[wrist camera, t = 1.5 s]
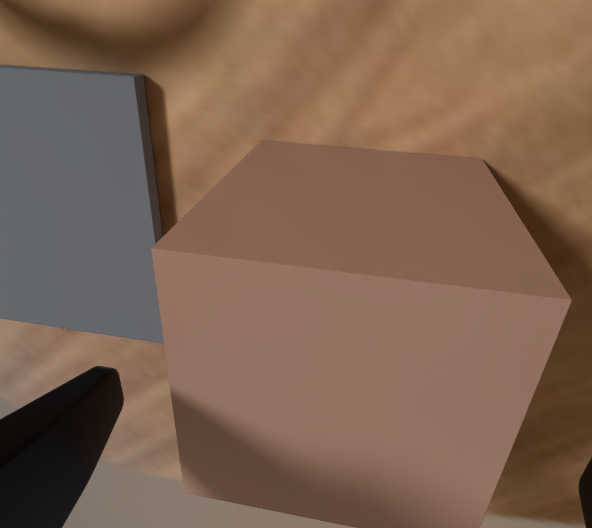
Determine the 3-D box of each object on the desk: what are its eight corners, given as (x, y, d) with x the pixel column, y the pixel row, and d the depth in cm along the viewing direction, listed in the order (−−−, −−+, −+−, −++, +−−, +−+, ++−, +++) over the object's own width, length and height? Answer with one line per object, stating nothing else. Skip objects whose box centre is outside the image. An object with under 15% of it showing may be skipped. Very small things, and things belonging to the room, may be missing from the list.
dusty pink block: (482, 159, 13) (572, 300, 7) (438, 338, 16) (469, 550, 10) (261, 140, 14) (151, 247, 8) (261, 313, 17) (184, 493, 11)
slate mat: (143, 74, 14) (133, 76, 13) (174, 335, 19) (168, 344, 18) (-136, 56, 15) (-155, 57, 15) (-38, 302, 20) (-50, 310, 19)
